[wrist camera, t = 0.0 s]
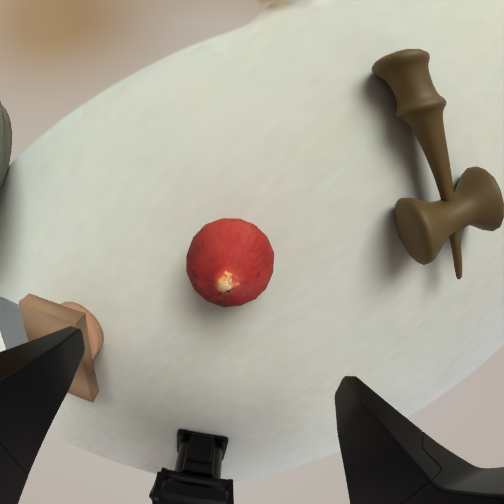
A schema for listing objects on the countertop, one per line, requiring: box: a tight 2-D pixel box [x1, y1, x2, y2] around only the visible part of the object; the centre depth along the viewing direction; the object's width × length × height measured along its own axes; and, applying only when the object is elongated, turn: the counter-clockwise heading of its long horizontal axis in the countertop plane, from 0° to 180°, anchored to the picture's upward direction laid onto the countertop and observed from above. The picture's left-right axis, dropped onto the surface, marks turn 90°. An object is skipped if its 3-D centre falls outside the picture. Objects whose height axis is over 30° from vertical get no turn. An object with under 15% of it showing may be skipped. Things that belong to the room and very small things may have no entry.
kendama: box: [372, 49, 504, 279], centre depth 18 cm, size 6×10×20 cm
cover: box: [19, 294, 99, 402], centre depth 21 cm, size 10×7×2 cm
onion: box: [187, 218, 274, 307], centre depth 19 cm, size 6×6×8 cm
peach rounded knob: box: [61, 302, 104, 360], centre depth 23 cm, size 6×6×4 cm
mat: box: [0, 297, 28, 350], centre depth 26 cm, size 12×9×1 cm
